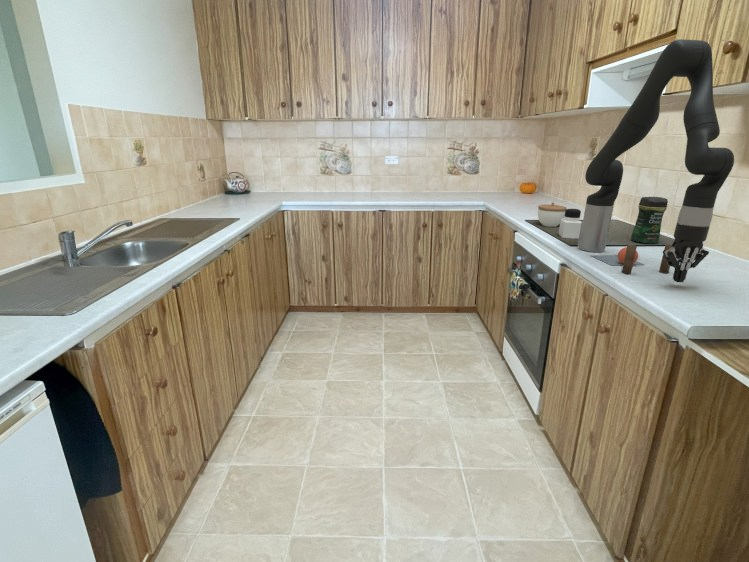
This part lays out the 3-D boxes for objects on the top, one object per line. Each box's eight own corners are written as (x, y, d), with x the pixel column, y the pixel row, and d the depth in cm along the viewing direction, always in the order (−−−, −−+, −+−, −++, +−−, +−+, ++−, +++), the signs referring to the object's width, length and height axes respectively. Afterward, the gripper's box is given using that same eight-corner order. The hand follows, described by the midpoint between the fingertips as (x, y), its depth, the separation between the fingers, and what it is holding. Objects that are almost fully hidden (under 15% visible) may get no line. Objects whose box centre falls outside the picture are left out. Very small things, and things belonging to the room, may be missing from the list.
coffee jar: (638, 244, 173) (648, 198, 167) (627, 239, 180) (636, 195, 174) (662, 244, 173) (673, 198, 167) (650, 239, 180) (660, 195, 174)
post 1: (619, 271, 137) (625, 244, 134) (627, 271, 137) (633, 244, 134) (625, 274, 134) (631, 246, 131) (632, 274, 135) (638, 246, 132)
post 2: (657, 270, 138) (663, 244, 135) (664, 270, 139) (671, 243, 136) (663, 273, 136) (669, 246, 133) (670, 273, 136) (677, 245, 133)
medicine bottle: (579, 239, 180) (584, 210, 176) (562, 238, 181) (566, 210, 177) (575, 235, 187) (579, 208, 183) (558, 234, 188) (562, 207, 184)
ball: (625, 265, 141) (613, 264, 147) (641, 265, 142) (629, 263, 148) (626, 247, 140) (614, 246, 146) (643, 247, 141) (630, 246, 147)
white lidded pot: (530, 223, 212) (533, 200, 208) (553, 222, 214) (557, 200, 210) (544, 228, 200) (548, 204, 196) (569, 227, 202) (573, 204, 198)
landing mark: (590, 255, 155) (590, 255, 155) (621, 255, 156) (621, 254, 156) (611, 265, 143) (611, 265, 143) (644, 264, 145) (644, 264, 145)
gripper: (703, 219, 122) (688, 276, 128) (661, 220, 121) (647, 277, 127) (726, 225, 115) (709, 285, 121) (682, 225, 114) (667, 286, 120)
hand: (678, 281), depth 124 cm, fingers closed
